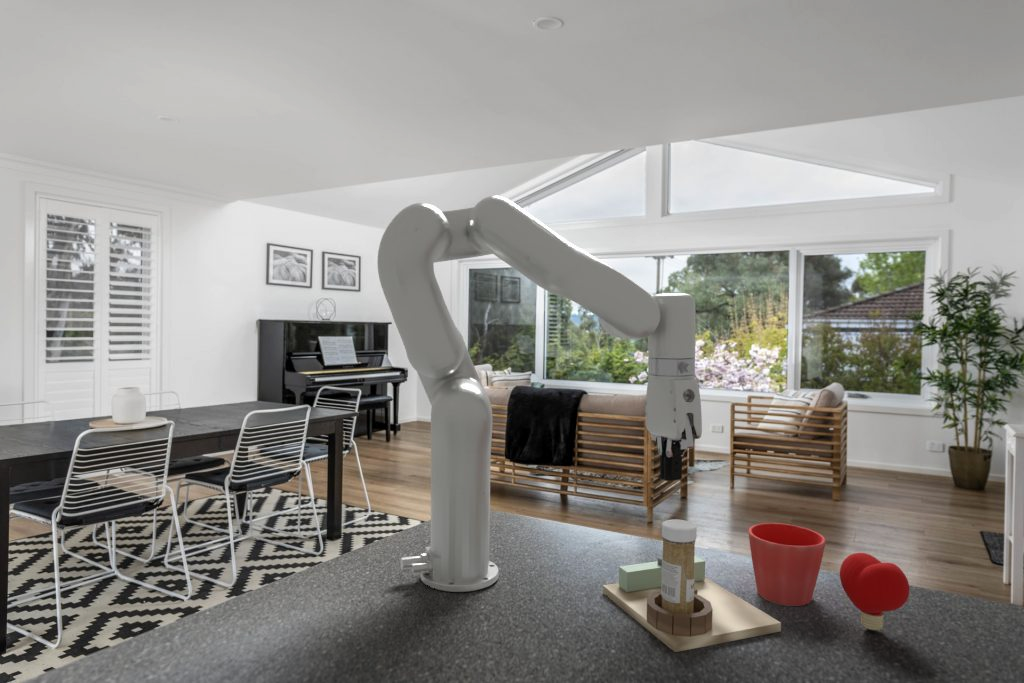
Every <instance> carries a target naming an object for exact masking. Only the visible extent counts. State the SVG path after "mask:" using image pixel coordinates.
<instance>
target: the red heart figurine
mask: <svg viewBox="0 0 1024 683" xmlns="http://www.w3.org/2000/svg"><path fill="white" fill-rule="evenodd" d="M839 579H840V584H841V586H842V589H843V591H844V592H845V595H846V596H847V597H848V599H849V601H850V602H851V603H852V604H853V606H855V608H856V609H858V610H859V611H861V612H860V615H861V617H860V624H861V626H863V627H864V628H866V630H867V631H868V632H871V633H876V632H878V631H879V630H882V629H883V626H884V616H885V612H891V611H895V610H898V609H900V608H902V607H903V606H904V605H905V604H906V603H907V602H908V599H909V596H910V583H909V580H908V578H907V576H906V574H905V573H904V571H903V570H902V568H900V567H899V565H897V564H895V563H893V562H882V561H880V560H879V559H878V558H876V557H875V556H873V555H871V554H869V553H866V552H856V553H855V552H854V553H851V554H850V555H848V556H847V557H845V558H844V560H843V561H842V563H841V565H840V568H839Z"/></svg>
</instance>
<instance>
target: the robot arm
mask: <svg viewBox="0 0 1024 683" xmlns="http://www.w3.org/2000/svg"><path fill="white" fill-rule="evenodd" d="M490 255H494V256H495V257H497V258H498V259H500V260H501V261H502V262H504V263H505V264H507V265H509V266H510V267H511V268H513V269H514V270H516V271H517V272H518V273H520V274H521V275H523V276H524V277H525V278H527V279H528V280H530V281H531V282H532V283H534V284H536V286H538V287H540V288H541V289H543V290H546V291H547V292H548V293H551V294H554V295H558V296H560V297H563V298H564V299H565V298H566V299H568V300H569V301H572V302H573V303H576V304H577V305H579V306H581V307H582V308H584V309H586V310H588V311H589V312H590V313H592V314H593V315H595V316H596V317H598V322H599V324H600V326H601V328H602V329H603V331H605V332H606V333H607V334H609V335H610V336H612V337H614V338H618V339H626V340H635V341H637V340H638V341H639V340H642V339H643V340H644V339H646V338H647V340H648V341H647V342H648V343H647V344H648V345H647V349H648V350H647V352H648V354H647V355H648V356H647V368H648V370H647V372H648V373H647V375H648V376H647V378H648V379H647V380H648V381H647V387H646V396H645V413H644V415H645V417H644V418H645V428H646V430H647V431H648V433H650V438H651V440H653V441H655V442H656V444H657V452H658V455H659V478H660V479H661V480H663V481H665V482H670V481H671V482H672V481H680V480H682V478H683V457H684V455H685V451H686V450H689V449H691V450H692V449H693V448H694V446H695V444H694V440H698V439H701V437H702V434H703V433H702V432H703V426H702V425H703V422H702V421H703V418H702V417H703V416H702V404H701V403H702V402H701V392H700V386H699V383H698V378H696V300H695V298H694V296H692V295H691V294H688V293H681V292H680V293H679V292H678V293H670V292H669V293H657V294H653V295H651V294H650V293H649V292H648V291H647V290H645V289H643V287H641V286H640V285H638V284H637V283H635V282H634V281H633V280H632V279H630V278H628V277H627V276H625V275H624V274H622V273H621V272H620V271H618V270H617V269H615V268H614V267H612V266H610V265H609V264H607V263H606V262H603V261H601V260H600V259H599V258H596V257H595V256H593V255H592V254H590V253H588V252H586V251H585V250H584V249H582V248H580V247H578V246H576V245H574V244H573V243H572V242H570V241H568V240H567V239H566V238H564V237H562V236H561V235H560V234H559V233H557V232H555V231H554V230H552V229H551V228H549V226H547V225H546V224H544V223H543V222H542V221H540V220H539V219H537V218H535V217H534V216H533V215H531V214H530V213H529V212H528V211H527V210H525V209H523V208H522V207H520V206H519V205H518V204H516V203H515V202H514V201H512V200H510V199H508V198H506V197H504V196H501V195H489V196H487V197H484V198H482V199H481V200H480V201H479V202H477V203H476V205H474V207H473V206H472V207H467V208H462V209H455V210H444V211H441V210H440V209H439V208H438V207H436V206H435V205H432V204H430V203H426V202H425V203H424V202H417V203H412V204H409V205H408V206H406V207H404V208H403V209H402V210H400V211H398V213H397V214H396V215H395V216H394V217H393V218H392V219H391V221H390V222H389V224H388V226H387V227H386V229H385V230H384V232H383V235H382V237H381V239H380V243H379V246H378V251H377V272H378V278H379V279H378V280H379V281H380V287H381V289H382V292H383V295H384V297H385V300H386V303H387V305H388V307H389V310H390V313H391V316H392V319H393V321H394V324H395V327H396V328H397V330H398V334H399V336H400V339H401V341H402V343H403V346H404V349H405V352H406V357H407V359H408V362H409V363H410V365H411V367H412V368H413V369H414V370H415V371H416V373H417V375H418V378H419V379H420V382H421V384H422V387H423V389H424V392H425V394H426V396H427V399H428V401H429V404H430V405H431V408H430V410H431V411H430V546H425V552H421V553H419V555H416V556H414V555H409V556H401V557H400V561H399V563H400V568H401V569H400V570H411V572H412V574H415V573H420V580H421V581H422V583H423V584H425V585H426V586H427V585H428V586H427V587H429V586H430V587H429V588H432V589H434V588H435V590H438V591H442V592H452V593H463V592H465V593H466V592H473V591H480V590H482V589H485V588H488V587H490V586H492V585H493V584H494V583H496V582H497V581H498V579H499V576H500V574H499V572H500V569H499V567H498V565H496V564H495V563H494V562H493V561H491V560H490V536H491V535H490V533H491V532H490V531H491V530H490V529H491V528H490V527H491V526H490V524H491V522H490V521H491V462H492V461H491V457H492V456H491V455H492V454H491V453H492V438H493V437H492V436H493V435H492V434H493V409H492V403H491V401H490V399H489V398H490V397H489V396H488V394H487V393H486V391H485V388H484V387H483V384H482V380H480V377H479V373H478V371H477V370H476V367H475V365H474V363H473V360H472V358H471V355H470V353H469V350H468V347H467V344H466V343H465V341H464V337H463V335H462V332H461V331H460V330H459V328H458V327H457V326H456V324H455V322H454V320H453V318H452V315H451V314H450V311H449V308H448V306H447V303H446V302H445V299H444V297H443V294H442V290H441V288H440V285H439V283H438V281H437V278H436V274H435V270H434V263H440V262H447V261H455V260H463V259H469V258H470V259H471V258H477V257H483V256H490Z"/></svg>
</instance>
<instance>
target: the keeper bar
mask: <svg viewBox="0 0 1024 683" xmlns="http://www.w3.org/2000/svg"><path fill="white" fill-rule="evenodd" d="M662 557H663V556H658V557H657V561H656V560H655V561H651V562H642V563H637V564H635V563H634V564H629V565H621V566H619V567H618V583H619V587H621V588H622V589H623V590H625V591H626V592H631V591H637V590H644V589H650V588H657V587H662ZM694 565H695V574H694V582H695V581H702V580H705V577H706V560H704V559H702V558H700V557H698V556H696V555H694Z"/></svg>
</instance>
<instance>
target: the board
mask: <svg viewBox="0 0 1024 683" xmlns="http://www.w3.org/2000/svg"><path fill="white" fill-rule="evenodd" d="M661 588H662V587H657V588H650V589H644V590H637V591H631V592H626V591H625V590H623V589H622V588H621V587H619V582H618V583H611V584H610V583H609V584H603V585H602V594H603V593H604V595H605V596H606V595H607V596H608V597H609V598H608V597H607V596H606V597H607V598H608V599H609V600H611V601H612V600H613V601H612V603H614V602H615V603H614V604H616V605H617V606H618V607H619V608H621V610H623V611H624V612H626V613H627V614H628V615H629V616H630V617H631V618H632V619H634V620H635V621H636V622H637V623H638V624H640V625H641V626H642V627H644V628H645V629H646V630H647V631H648V632H650V634H652V635H653V636H654V637H655V638H657V639H658V640H659V641H661V642H662V643H663V644H664V645H665V646H666V647H668V648H669V649H670V650H672V651H673V652H674V653H678V652H684V651H688V650H694V649H699V648H705V647H709V646H714V645H718V644H724V643H729V642H733V641H739V640H744V639H750V638H754V637H759V636H763V635H768V634H770V635H771V634H774V633H779V632H782V622H781V621H779V620H777V619H776V618H774V617H773V616H771V615H769V614H767V613H766V612H764V611H763V610H760V609H759V608H757V607H755V606H754V605H752V604H751V603H750V602H747V601H745V600H744V599H742V598H741V597H739V596H738V595H735V594H734V593H732V592H731V591H729V590H727V589H726V588H724V587H722V586H721V585H719V584H718V583H715V582H714V581H712V580H711V579H709V578H707V577H706V576H705V580H702V581H695V582H694V613H692V614H679V613H673V612H669V611H666V610H663V609H662V595H661Z"/></svg>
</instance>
